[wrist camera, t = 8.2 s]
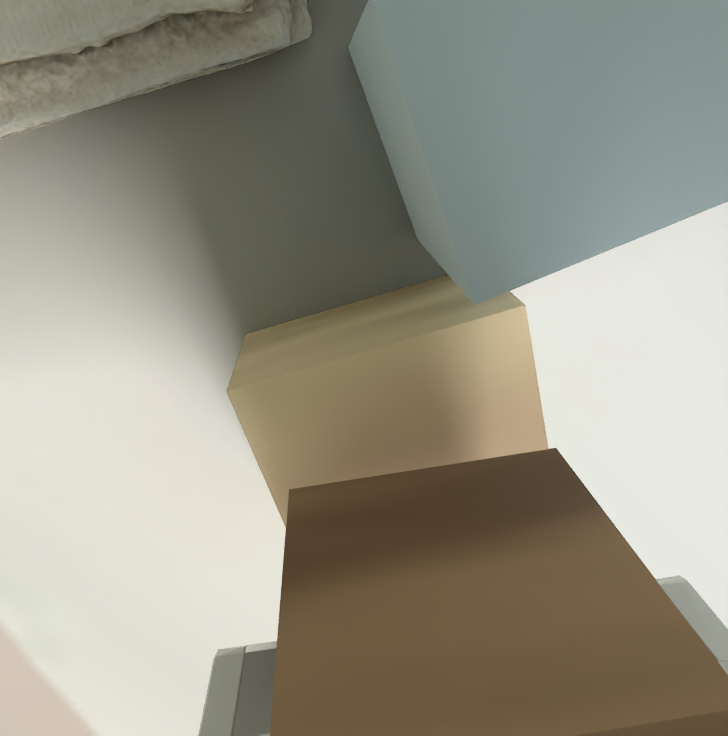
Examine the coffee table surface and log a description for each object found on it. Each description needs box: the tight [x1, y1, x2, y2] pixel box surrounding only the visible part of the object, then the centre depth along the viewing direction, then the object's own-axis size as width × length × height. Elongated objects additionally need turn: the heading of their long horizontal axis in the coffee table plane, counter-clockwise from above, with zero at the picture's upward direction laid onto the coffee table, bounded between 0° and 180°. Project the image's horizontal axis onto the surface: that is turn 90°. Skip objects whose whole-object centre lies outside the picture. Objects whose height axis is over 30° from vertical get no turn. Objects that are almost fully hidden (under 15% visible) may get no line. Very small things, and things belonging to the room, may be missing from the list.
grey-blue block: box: [348, 0, 728, 305], centre depth 11 cm, size 5×5×6 cm
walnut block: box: [270, 448, 728, 736], centre depth 9 cm, size 5×5×5 cm
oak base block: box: [227, 275, 548, 527], centre depth 16 cm, size 7×7×4 cm
